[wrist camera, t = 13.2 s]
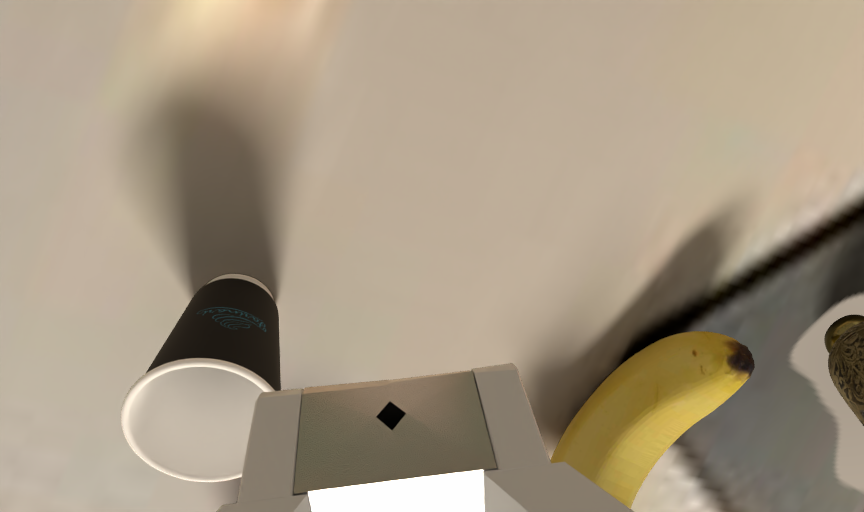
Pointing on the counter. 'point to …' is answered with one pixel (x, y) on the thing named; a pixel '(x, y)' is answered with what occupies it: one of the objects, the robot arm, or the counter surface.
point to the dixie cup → (207, 383)
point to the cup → (848, 360)
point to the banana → (651, 408)
